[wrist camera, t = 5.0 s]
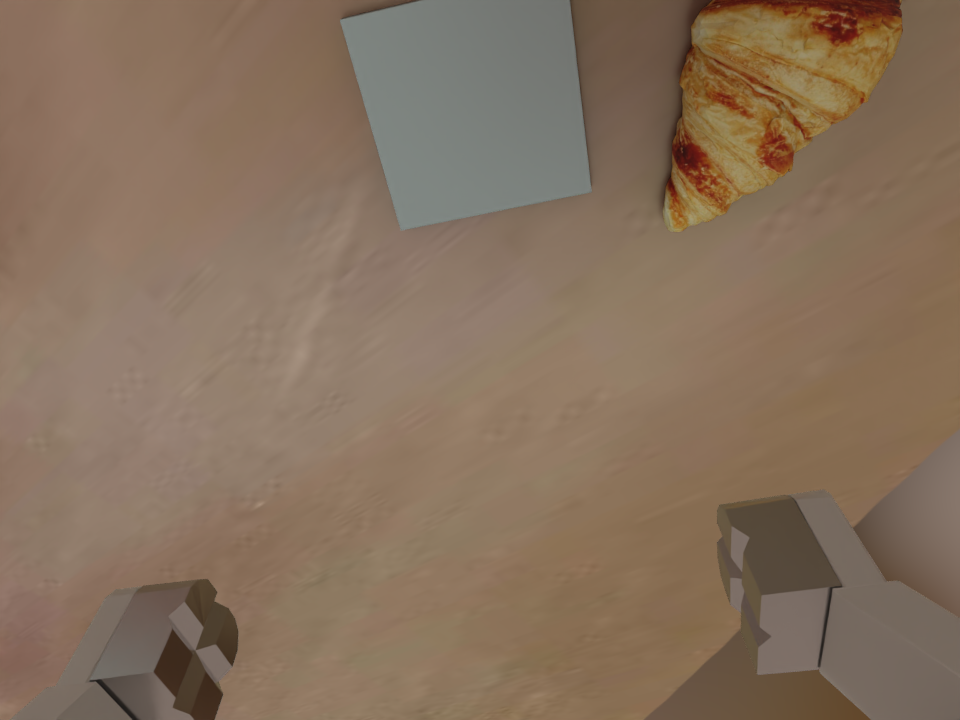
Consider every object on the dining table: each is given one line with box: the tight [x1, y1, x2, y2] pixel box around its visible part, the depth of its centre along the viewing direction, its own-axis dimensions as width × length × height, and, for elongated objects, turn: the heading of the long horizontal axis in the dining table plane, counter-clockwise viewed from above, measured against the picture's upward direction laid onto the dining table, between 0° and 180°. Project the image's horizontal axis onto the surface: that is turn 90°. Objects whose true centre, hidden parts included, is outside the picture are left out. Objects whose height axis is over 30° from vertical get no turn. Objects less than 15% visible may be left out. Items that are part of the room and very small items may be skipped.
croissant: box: [663, 0, 903, 232], centre depth 34 cm, size 21×10×8 cm, turn 158°
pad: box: [340, 0, 592, 230], centre depth 37 cm, size 12×12×1 cm
